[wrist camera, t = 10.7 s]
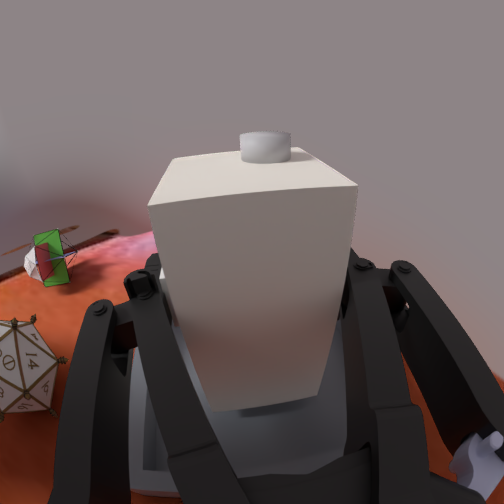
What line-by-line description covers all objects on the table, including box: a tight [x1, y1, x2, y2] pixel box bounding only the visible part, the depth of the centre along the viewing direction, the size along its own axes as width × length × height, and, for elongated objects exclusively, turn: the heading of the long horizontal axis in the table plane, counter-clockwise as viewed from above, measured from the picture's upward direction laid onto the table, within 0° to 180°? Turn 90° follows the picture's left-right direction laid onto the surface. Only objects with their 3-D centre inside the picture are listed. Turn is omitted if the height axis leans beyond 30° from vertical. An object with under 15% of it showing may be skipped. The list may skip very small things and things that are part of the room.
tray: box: [129, 318, 347, 498], centre depth 17 cm, size 16×16×3 cm
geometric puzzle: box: [24, 228, 78, 287], centre depth 27 cm, size 7×7×8 cm
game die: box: [0, 314, 69, 423], centre depth 13 cm, size 9×8×10 cm
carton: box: [147, 131, 358, 412], centre depth 13 cm, size 6×6×13 cm
